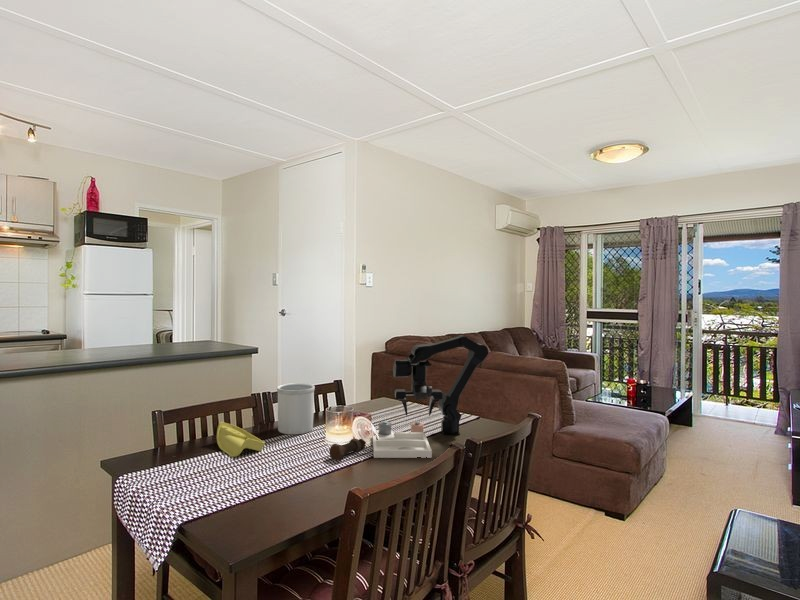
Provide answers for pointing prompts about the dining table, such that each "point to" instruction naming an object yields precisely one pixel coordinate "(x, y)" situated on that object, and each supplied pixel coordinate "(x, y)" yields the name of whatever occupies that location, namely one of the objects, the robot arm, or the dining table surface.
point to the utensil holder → (295, 408)
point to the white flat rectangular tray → (401, 445)
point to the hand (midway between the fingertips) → (418, 415)
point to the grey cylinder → (385, 428)
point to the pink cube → (417, 427)
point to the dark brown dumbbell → (346, 448)
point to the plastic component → (236, 439)
